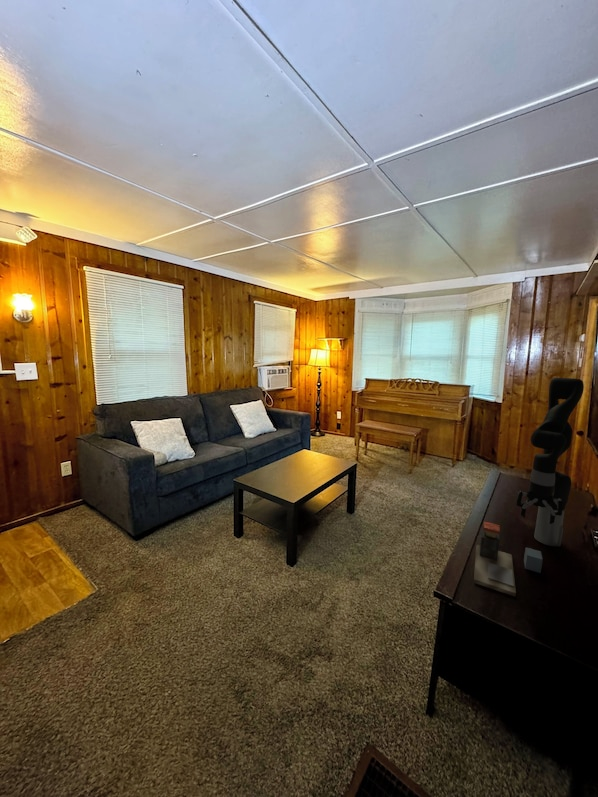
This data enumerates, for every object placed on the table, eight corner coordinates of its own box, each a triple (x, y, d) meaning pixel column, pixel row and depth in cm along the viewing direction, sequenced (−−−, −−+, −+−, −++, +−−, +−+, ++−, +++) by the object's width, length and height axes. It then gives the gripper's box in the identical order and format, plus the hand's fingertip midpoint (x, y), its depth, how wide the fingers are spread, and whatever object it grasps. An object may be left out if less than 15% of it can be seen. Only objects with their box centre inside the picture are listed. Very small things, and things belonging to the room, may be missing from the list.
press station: (511, 557, 135) (514, 535, 133) (515, 596, 113) (519, 571, 112) (475, 547, 141) (478, 526, 140) (473, 582, 120) (476, 558, 118)
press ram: (497, 540, 135) (499, 525, 133) (497, 547, 130) (499, 531, 129) (482, 536, 137) (483, 521, 136) (481, 543, 133) (483, 527, 131)
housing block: (538, 564, 131) (540, 551, 130) (540, 573, 126) (542, 559, 125) (523, 560, 133) (525, 547, 132) (525, 568, 128) (527, 555, 127)
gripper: (564, 482, 124) (557, 521, 126) (519, 474, 131) (514, 510, 134) (567, 489, 117) (560, 530, 120) (520, 480, 125) (515, 518, 127)
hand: (536, 519), depth 127 cm, fingers open, 8 cm apart
